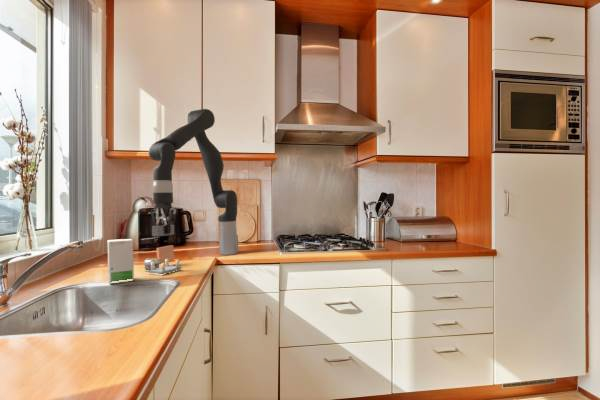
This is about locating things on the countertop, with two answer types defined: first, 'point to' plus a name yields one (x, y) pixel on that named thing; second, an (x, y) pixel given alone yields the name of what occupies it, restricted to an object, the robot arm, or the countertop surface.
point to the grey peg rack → (161, 255)
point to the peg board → (164, 267)
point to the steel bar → (161, 230)
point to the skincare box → (120, 259)
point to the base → (150, 267)
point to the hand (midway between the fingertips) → (164, 233)
